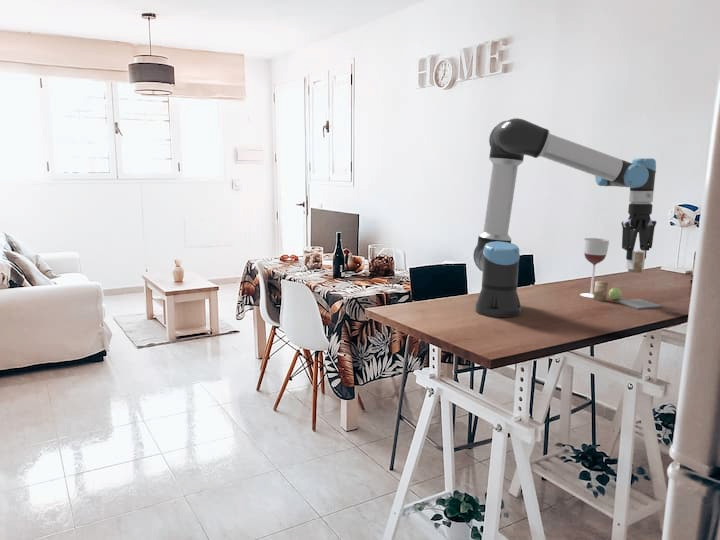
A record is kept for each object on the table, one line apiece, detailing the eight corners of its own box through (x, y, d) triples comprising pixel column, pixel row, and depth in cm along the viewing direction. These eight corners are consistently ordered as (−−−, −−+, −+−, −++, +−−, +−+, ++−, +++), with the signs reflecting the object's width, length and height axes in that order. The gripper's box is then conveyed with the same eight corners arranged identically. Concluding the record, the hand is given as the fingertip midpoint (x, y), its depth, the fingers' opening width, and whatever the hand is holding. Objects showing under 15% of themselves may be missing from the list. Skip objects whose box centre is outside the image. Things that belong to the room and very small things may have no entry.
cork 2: (634, 273, 200) (636, 253, 198) (625, 270, 204) (627, 251, 202) (644, 272, 201) (646, 252, 200) (635, 270, 205) (636, 251, 204)
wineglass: (598, 293, 224) (604, 238, 220) (606, 298, 215) (612, 241, 211) (576, 292, 225) (581, 237, 221) (583, 297, 216) (588, 240, 212)
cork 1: (599, 301, 210) (600, 283, 209) (590, 298, 214) (592, 281, 213) (608, 300, 212) (610, 282, 210) (600, 298, 216) (602, 280, 214)
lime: (614, 301, 211) (615, 289, 210) (605, 298, 215) (606, 286, 214) (623, 300, 212) (625, 288, 212) (614, 297, 217) (616, 286, 216)
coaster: (637, 309, 199) (638, 307, 199) (614, 302, 210) (615, 300, 210) (662, 307, 203) (662, 305, 203) (638, 300, 213) (638, 298, 213)
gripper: (629, 204, 192) (623, 271, 196) (668, 203, 197) (662, 268, 201) (613, 202, 199) (608, 268, 203) (651, 201, 204) (645, 265, 208)
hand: (635, 268), depth 202 cm, fingers closed on cork 2, 4 cm apart
